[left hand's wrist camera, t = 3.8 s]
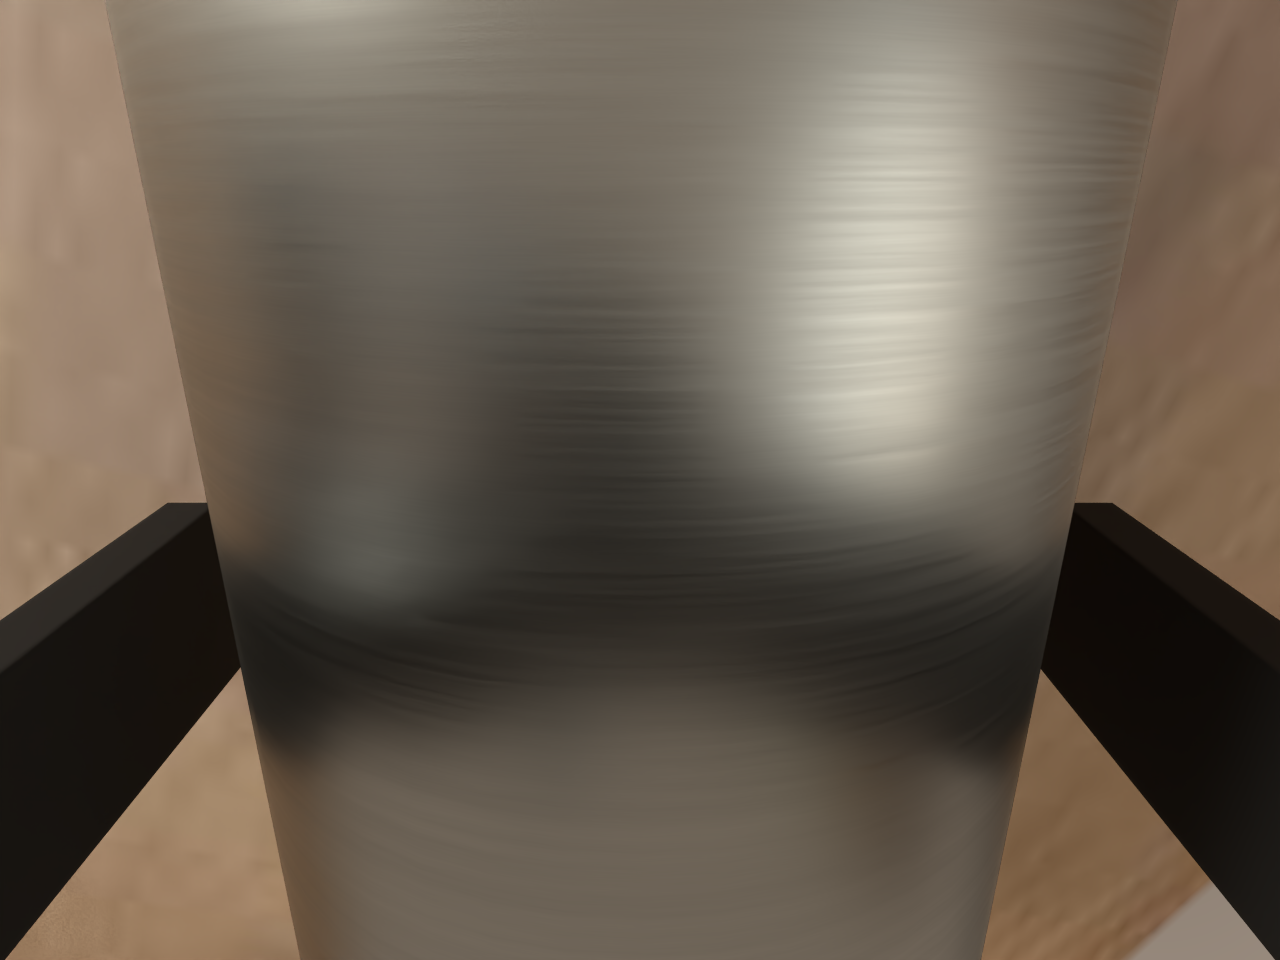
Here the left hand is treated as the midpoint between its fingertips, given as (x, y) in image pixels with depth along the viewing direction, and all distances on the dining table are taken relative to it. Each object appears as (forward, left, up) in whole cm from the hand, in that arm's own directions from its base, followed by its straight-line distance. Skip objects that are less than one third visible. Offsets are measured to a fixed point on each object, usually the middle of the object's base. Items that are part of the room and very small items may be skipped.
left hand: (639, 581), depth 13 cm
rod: (+6, +6, -2) cm, 9 cm away
